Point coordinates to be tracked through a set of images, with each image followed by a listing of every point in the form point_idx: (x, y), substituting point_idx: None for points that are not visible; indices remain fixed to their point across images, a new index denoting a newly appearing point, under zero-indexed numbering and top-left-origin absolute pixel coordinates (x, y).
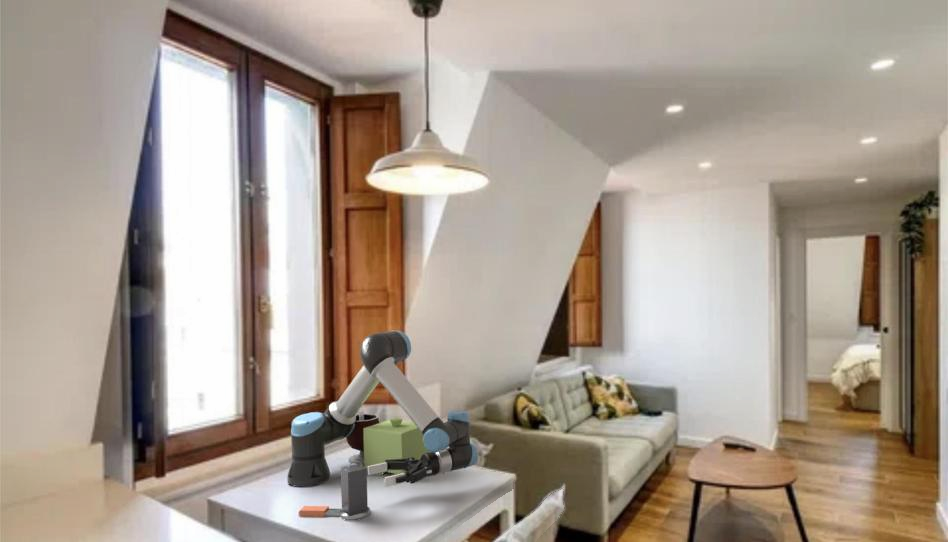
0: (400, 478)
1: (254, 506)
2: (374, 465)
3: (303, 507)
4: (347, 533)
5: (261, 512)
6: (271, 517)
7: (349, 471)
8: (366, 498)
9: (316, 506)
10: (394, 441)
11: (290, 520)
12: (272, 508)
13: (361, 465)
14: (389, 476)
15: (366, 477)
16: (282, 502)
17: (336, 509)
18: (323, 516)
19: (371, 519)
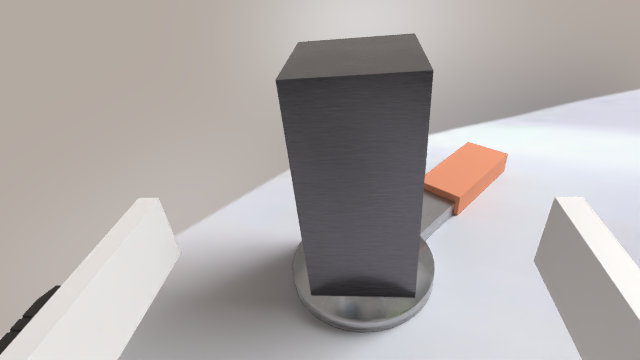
0: (24, 321)
1: (612, 109)
2: (590, 245)
3: (492, 150)
4: (229, 209)
5: (549, 114)
6: (495, 123)
7: (310, 44)
8: (303, 243)
9: (480, 172)
10: None
11: (444, 143)
12: (576, 128)
13: (373, 72)
14: (127, 227)
15: (285, 139)
16: (634, 146)
17: (426, 216)
18: None
19: (255, 301)
